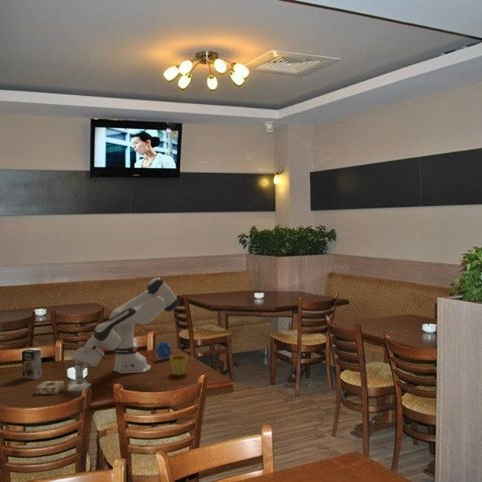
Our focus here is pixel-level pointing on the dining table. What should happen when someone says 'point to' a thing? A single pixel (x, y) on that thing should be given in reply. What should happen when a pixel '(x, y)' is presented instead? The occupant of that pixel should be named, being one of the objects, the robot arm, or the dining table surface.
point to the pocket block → (50, 387)
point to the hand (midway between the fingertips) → (78, 369)
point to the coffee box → (31, 364)
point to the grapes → (163, 350)
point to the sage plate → (78, 387)
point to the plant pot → (178, 364)
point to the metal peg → (78, 375)
